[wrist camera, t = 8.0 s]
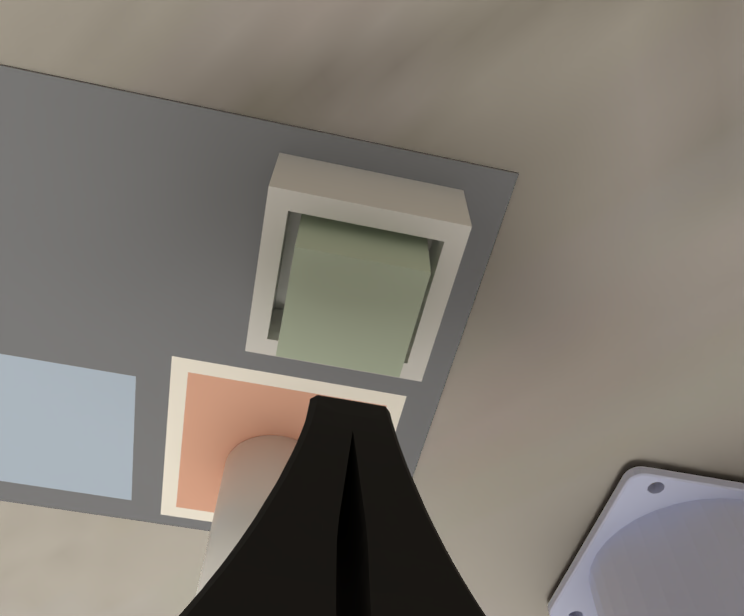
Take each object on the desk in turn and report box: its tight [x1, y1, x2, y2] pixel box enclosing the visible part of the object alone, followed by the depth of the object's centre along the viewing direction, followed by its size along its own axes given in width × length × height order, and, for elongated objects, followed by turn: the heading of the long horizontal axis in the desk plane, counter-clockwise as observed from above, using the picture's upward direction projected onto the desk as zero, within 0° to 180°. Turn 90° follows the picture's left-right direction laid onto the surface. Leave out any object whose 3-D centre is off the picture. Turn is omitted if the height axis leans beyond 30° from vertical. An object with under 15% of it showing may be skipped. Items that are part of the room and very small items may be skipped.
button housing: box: [245, 153, 472, 382], centre depth 18 cm, size 5×5×2 cm
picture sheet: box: [0, 64, 519, 531], centre depth 21 cm, size 15×15×1 cm
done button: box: [276, 214, 431, 377], centre depth 17 cm, size 3×3×2 cm
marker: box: [195, 435, 297, 597], centre depth 20 cm, size 3×3×8 cm
